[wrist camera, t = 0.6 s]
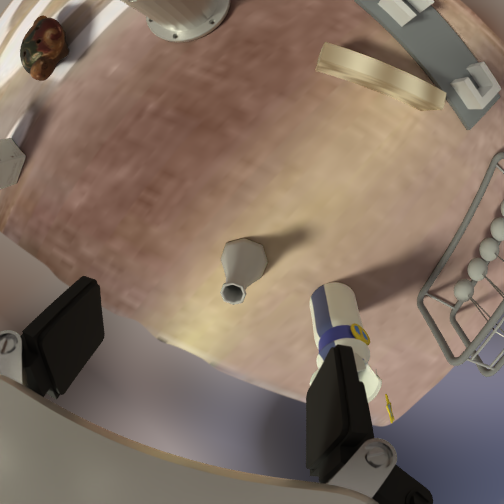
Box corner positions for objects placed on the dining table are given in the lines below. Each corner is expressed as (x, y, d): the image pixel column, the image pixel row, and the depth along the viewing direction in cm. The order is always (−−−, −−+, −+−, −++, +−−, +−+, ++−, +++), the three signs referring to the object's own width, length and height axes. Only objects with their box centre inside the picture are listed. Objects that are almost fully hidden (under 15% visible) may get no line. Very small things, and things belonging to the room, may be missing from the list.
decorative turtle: (50, 95, 37) (19, 96, 30) (34, 40, 32) (6, 37, 25) (86, 61, 35) (56, 56, 27) (67, 7, 30) (40, -1, 23)
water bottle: (331, 269, 44) (360, 399, 22) (367, 298, 46) (408, 425, 23) (296, 303, 48) (295, 437, 25) (332, 329, 49) (348, 457, 26)
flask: (267, 282, 47) (261, 319, 38) (221, 278, 47) (206, 314, 38) (268, 238, 44) (263, 269, 35) (220, 236, 44) (202, 265, 35)
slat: (315, 70, 33) (320, 59, 27) (319, 55, 32) (324, 41, 26) (420, 110, 33) (443, 109, 27) (424, 96, 32) (446, 92, 26)
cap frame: (354, 1, 28) (361, -13, 23) (393, -26, 24) (403, -39, 19) (466, 129, 33) (484, 131, 28) (497, 97, 29) (515, 96, 24)
